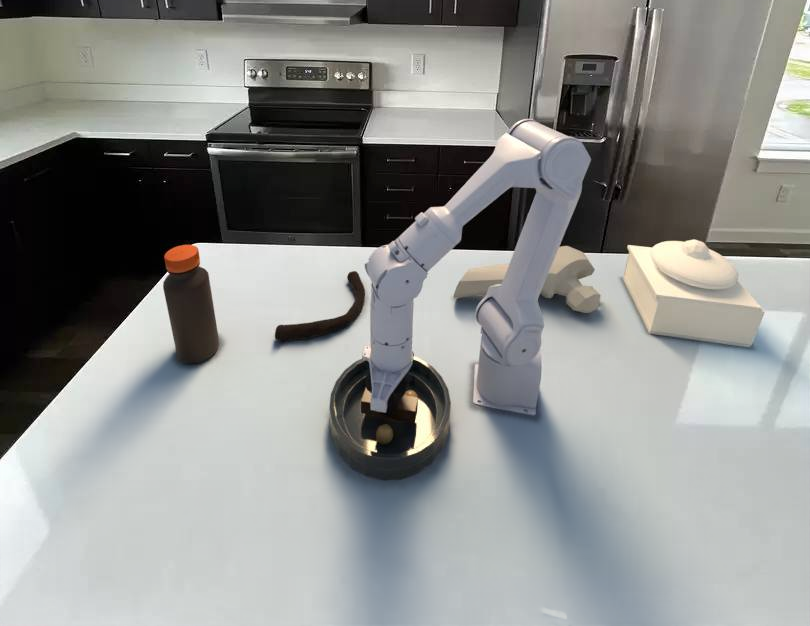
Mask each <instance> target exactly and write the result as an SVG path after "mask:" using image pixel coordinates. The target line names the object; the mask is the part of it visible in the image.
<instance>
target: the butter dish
mask: <svg viewBox="0 0 810 626" xmlns="http://www.w3.org/2000/svg"><path fill="white" fill-rule="evenodd" d="M626 249H627V250H628V255H627V259H626V264H625V268H624V273H623V277H622V280H623V282H624V285H625V287H626V289H627V290H628V292H629V294H630V297H631V298H632V299H631V300H632V301H633V302H634V305H635V307H636V309H637V311H638V313H639V315H640V317H641V319H642V321H643V324H644V325H645V327H646V329H647V331H648V333H649V334H650V335H657V336H665V337H672V338H679V339H684V340H685V339H687V340H695V341H700V342H707V343H715V344H720V345H721V344H723V345H727V346H728V345H729V346H737V347H743V348H751V347H752V345H753V343H754V340H755V338H756V336H757V333H758V330H759V328H760V325H761V323H762V320H763V317H764V315H765V312H766V311H765V310H764V309H762V306H761V305H760V304H759V303H758V302H757V300H755V299H754V298H753V296H752V295H751V294H750V293H749V292H748V291H747V290H746V288H744V287H743V285H742V284H741V283H740V282H739V272H738V269H737V268H736V267H735V266H734V264H733V263H732V262H731V261H730V260H729V259H727V258H726V257H724V256H723V255H721V254H720V253H718V252H717V251H715V250H713V249H710V248H709V247H708V246H707V245H706V244H705V242H704V241H701V240H698V239H689V240H685V241H682V240H666V241H661V242H659V243H656V244H654V246H652V247H650V246H642V245H641V246H640V245H634V244H633V245H632V244H628V245H627V248H626Z"/></svg>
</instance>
